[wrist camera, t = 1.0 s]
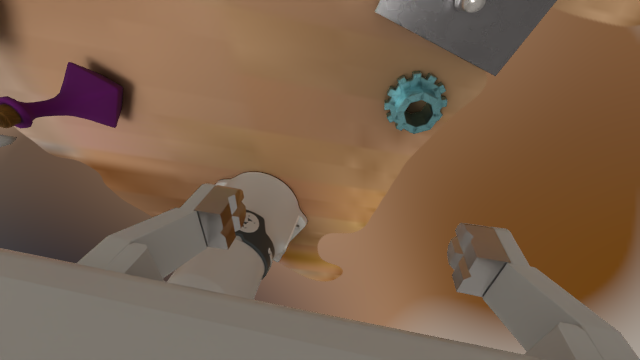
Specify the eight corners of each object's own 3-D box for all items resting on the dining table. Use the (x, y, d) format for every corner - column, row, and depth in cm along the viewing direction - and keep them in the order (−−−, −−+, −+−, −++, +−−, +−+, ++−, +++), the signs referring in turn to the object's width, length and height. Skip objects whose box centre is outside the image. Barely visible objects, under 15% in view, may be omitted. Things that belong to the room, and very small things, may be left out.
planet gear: (421, 137, 39) (426, 152, 35) (374, 113, 38) (373, 126, 34) (457, 87, 34) (468, 99, 30) (405, 60, 34) (408, 68, 30)
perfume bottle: (88, 98, 45) (-50, 144, 31) (88, 57, 41) (-73, 87, 27) (130, 121, 47) (16, 176, 32) (134, 83, 42) (4, 126, 28)
